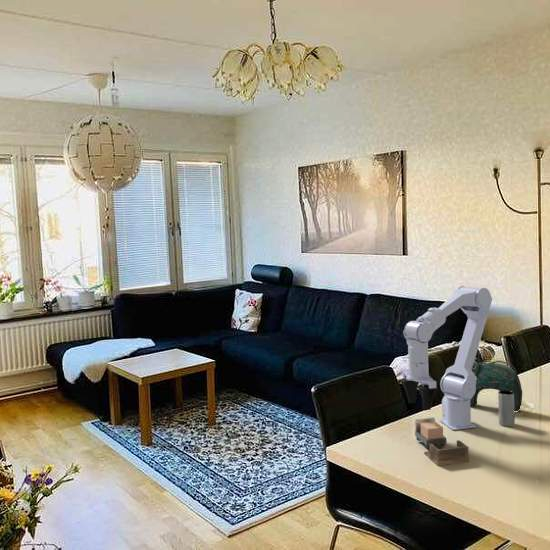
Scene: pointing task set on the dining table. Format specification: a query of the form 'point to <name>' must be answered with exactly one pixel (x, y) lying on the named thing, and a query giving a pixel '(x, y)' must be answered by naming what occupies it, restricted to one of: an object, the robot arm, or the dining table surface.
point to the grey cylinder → (506, 408)
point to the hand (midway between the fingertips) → (419, 406)
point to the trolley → (429, 432)
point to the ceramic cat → (496, 379)
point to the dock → (448, 454)
